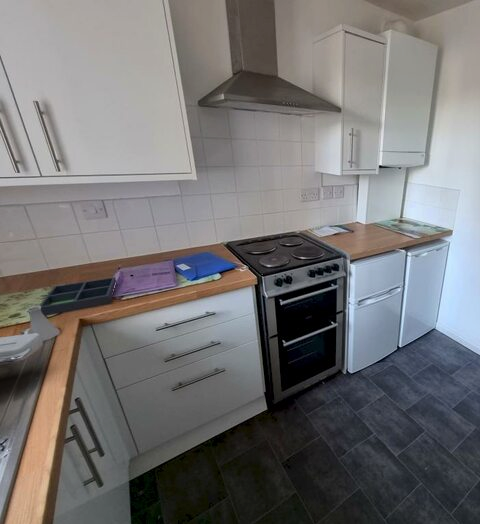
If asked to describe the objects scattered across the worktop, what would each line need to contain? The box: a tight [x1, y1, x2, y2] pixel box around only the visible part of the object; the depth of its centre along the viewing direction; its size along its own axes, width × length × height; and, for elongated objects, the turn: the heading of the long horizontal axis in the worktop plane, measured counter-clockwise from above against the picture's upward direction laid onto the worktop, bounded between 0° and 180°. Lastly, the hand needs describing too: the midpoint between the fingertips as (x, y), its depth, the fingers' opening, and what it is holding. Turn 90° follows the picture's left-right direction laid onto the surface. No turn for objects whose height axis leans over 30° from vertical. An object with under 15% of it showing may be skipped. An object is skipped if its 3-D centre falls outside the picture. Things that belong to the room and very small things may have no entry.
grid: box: [38, 276, 118, 317], centre depth 115 cm, size 19×19×4 cm
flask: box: [25, 305, 61, 342], centre depth 91 cm, size 7×7×10 cm
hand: (6, 333), depth 79 cm, fingers open, 8 cm apart
